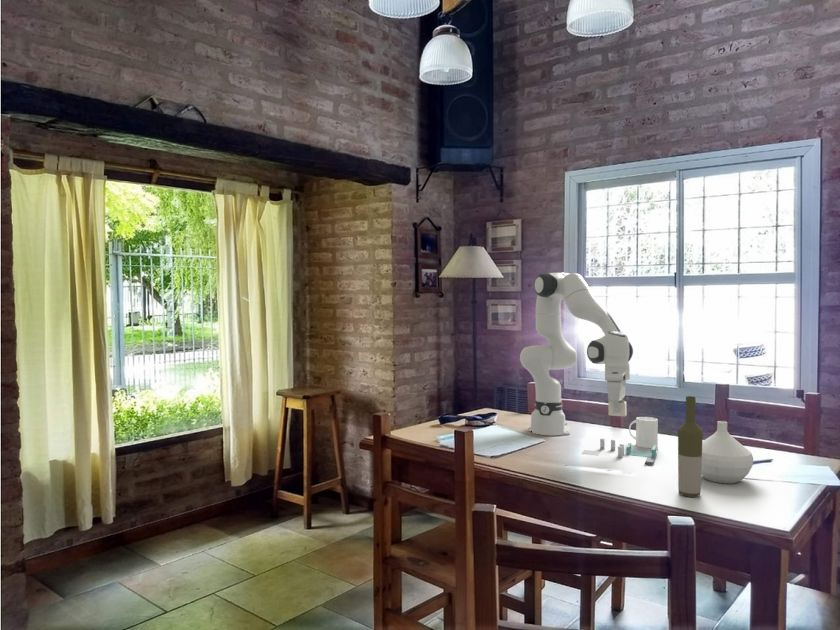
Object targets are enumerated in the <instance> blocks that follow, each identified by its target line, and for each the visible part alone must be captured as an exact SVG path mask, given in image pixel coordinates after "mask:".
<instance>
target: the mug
mask: <svg viewBox="0 0 840 630" xmlns="http://www.w3.org/2000/svg"><path fill="white" fill-rule="evenodd" d="M658 423H659V420H658V418H655V417H651V416H637V417H636V418H635V420H633V421H631V422H630V423H629V426H628V432H629V435H630V436H631V437H632V439H633V440H635V446H637V447H640V448H646V449H650V450H649V452H652V448H653V446H654V445H655V446H656V451H658V450H659V447H658V436H659V434H658V431H659V427H658V425H659V424H658ZM633 424H635V435H634V434H633V433H632V431H631V427H632V425H633Z"/></svg>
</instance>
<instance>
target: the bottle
mask: <svg viewBox="0 0 840 630" xmlns="http://www.w3.org/2000/svg"><path fill="white" fill-rule="evenodd" d="M696 399H697V398H696V396H686V397H685V422H684V423H683V424H682V425H681V426H680V427H679V428H678V431H677V462H678V464H677V468H678V470H677V471H678V473H677V474H678V475H677V478H678V481H677V483H678V484H677V485H678V487H677V488H678V490H677V491H678V493H679V494H680V495H682V496H684V497H687V498H688V497H689V498H697V497H700V496H701V492H702V491H701V490H702V475H701V468H702V441H703V435H704V434H703V433H704V432H703V430H702V429H701V427H700V426H699V425H698V424H697V423H696Z"/></svg>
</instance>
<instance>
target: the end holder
mask: <svg viewBox="0 0 840 630" xmlns="http://www.w3.org/2000/svg"><path fill="white" fill-rule="evenodd" d="M625 451H626V452H625V453H626V456H636V457H643V458H647V457H651V458H655V456H656V453H657V450H656V446H655V445H654V446H653V448H652V451H639V450H632V442H628V444H627V445H626V447H625ZM651 452H652V453H651ZM656 457H657V456H656Z"/></svg>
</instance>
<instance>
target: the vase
mask: <svg viewBox="0 0 840 630" xmlns="http://www.w3.org/2000/svg"><path fill="white" fill-rule="evenodd" d="M753 466H754V457H753V454H752V452H751V450H749V449H748V448H746V446H744V445H743V444H741V443H740V442H739V441H738V440H737V439H736V438H734V437H733V436H732V435H731V434H730V433H729V432H728V422H727V421H725V420H719V421H717V425H716V431H715V432H714V433H713V434H712V435H710V436H709V437H707V438H705V439H704V440H702V468H701V477H703V478H704V479H705V480H707V481H710V482H713V483H719V484H727V483H728V484H737V483H739V482H741V481H742V480H744V479H745V478H746V476H748V475H749V474H750V471H751V470H752V468H753Z"/></svg>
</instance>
